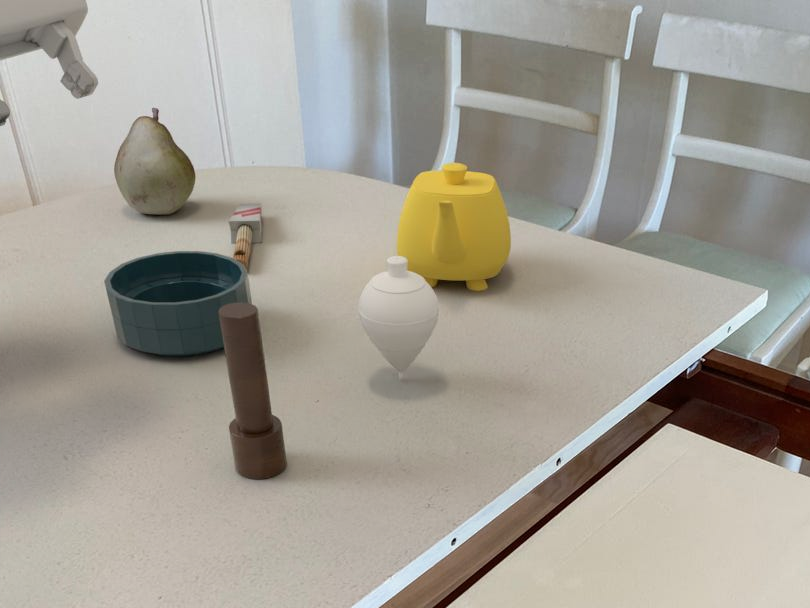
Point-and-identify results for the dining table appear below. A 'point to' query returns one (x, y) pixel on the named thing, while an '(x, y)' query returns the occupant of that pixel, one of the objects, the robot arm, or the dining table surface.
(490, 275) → the teapot
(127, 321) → the bowl
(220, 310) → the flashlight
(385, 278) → the spinning top
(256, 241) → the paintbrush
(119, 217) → the dining table surface
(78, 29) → the robot arm
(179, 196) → the fruit
